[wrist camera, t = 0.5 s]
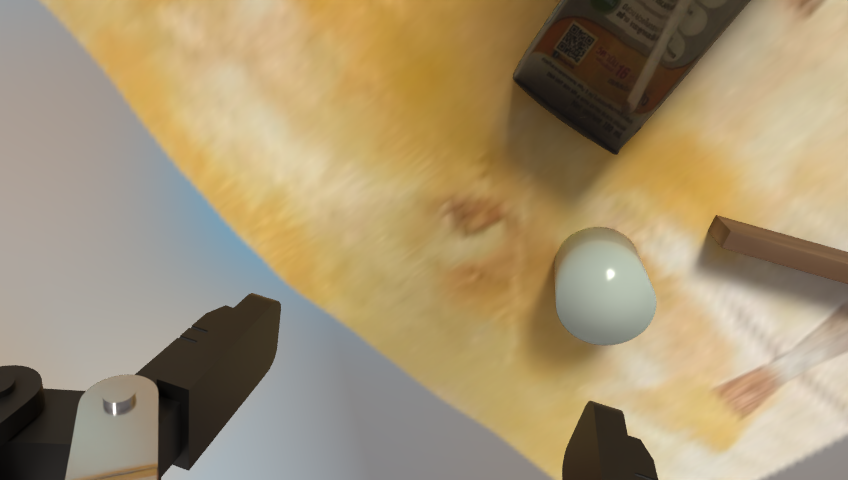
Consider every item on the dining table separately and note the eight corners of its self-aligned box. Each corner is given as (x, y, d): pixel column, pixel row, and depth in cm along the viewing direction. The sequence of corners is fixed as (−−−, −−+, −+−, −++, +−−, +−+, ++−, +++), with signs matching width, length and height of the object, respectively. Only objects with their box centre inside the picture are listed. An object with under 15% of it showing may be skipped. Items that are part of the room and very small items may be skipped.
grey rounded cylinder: (570, 216, 37) (574, 249, 31) (653, 241, 36) (672, 278, 31) (543, 287, 39) (543, 328, 34) (621, 311, 38) (633, 356, 33)
